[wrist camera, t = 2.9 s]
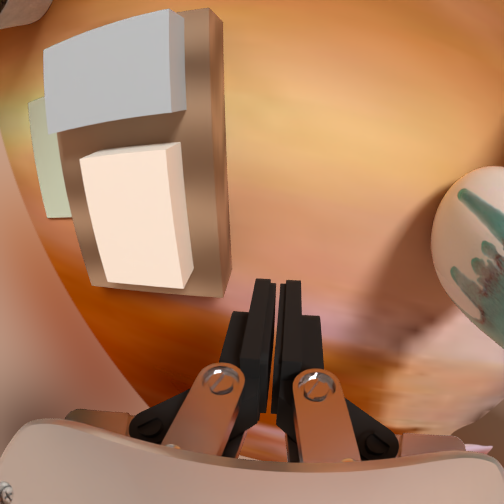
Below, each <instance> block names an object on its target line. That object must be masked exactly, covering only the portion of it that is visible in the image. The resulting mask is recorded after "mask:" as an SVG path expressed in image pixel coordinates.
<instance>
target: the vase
mask: <svg viewBox="0 0 504 504" xmlns="http://www.w3.org/2000/svg"><path fill="white" fill-rule="evenodd" d="M431 251H432V259H433V264H434V267H435V270H436V273H437V276H438V278H439V281H440V283H441V285H442V286H443V288H444V290H445V291H446V293H447V294H448V296H449V297H450V298H451V299H452V301H453V302H454V303H455V304H456V306H457V307H458V308H459V309H460V310H461V311H462V312H463V313H464V314H465V315H466V316H467V317H468V319H469V320H470V321H472V322H473V323H474V324H475V325H476V326H477V327H478V328H479V329H480V330H481V331H482V332H484V333H485V334H486V335H487V336H489V337H490V338H491V339H492V340H494V341H495V342H496V343H497V344H498V345H500V346H501V347H502V348H503V349H504V167H502V166H486V167H481V168H478V169H475V170H473V171H471V172H469V173H467V174H465V175H464V176H462V177H461V178H460V179H458V180H457V181H456V182H455V183H454V184H453V185H452V186H451V187H450V188H449V190H448V191H447V192H446V194H445V195H444V197H443V199H442V200H441V202H440V204H439V206H438V209H437V211H436V214H435V217H434V221H433V226H432V233H431Z"/></svg>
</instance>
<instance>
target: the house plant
mask: <svg viewBox="0 0 504 504" xmlns="http://www.w3.org/2000/svg"><path fill="white" fill-rule="evenodd" d="M51 3H52V0H0V29H4V28H9V27H14V26H20V25H26V24H31V23H33V22H35V21H37V20H39V19H40V18H41V17H42V16H43V15H44V14H45V12H46V11H47V10H48V8H49V6H50V5H51Z"/></svg>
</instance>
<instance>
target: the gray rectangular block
mask: <svg viewBox="0 0 504 504" xmlns="http://www.w3.org/2000/svg"><path fill="white" fill-rule="evenodd" d="M43 68H44V94H45V108H46V118H47V128H48V135H49V134H53V133H57V132H61V131H65V130H69V129H74V128H78V127H83V126H87V125H92V124H97V123H103V122H108V121H114V120H120V119H126V118H132V117H139V116H147V115H155V114H163V113H172V112H177V111H182V110H187V108H186V85H185V49H184V18H183V17H182V16H180V15H178V14H177V13H175V12H174V11H172V10H170V9H165V10H160V11H156V12H151V13H147V14H143V15H139V16H135V17H131V18H128V19H124V20H121V21H117V22H114V23H111V24H108V25H105V26H102V27H99V28H96V29H93V30H90V31H87V32H85V33H82V34H79V35H77V36H74V37H72V38H69V39H67V40H65V41H62V42H60V43H58V44H55V45H53V46H51V47H49V48H47V49H44V50H43Z"/></svg>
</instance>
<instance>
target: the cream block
mask: <svg viewBox="0 0 504 504" xmlns="http://www.w3.org/2000/svg"><path fill="white" fill-rule="evenodd" d="M80 166H81V172H82V178H83V183H84V189H85V194H86V199H87V204H88V208H89V213H90V218H91V222H92V226H93V230H94V234H95V238H96V242H97V246H98V250H99V254H100V257H101V261H102V264H103V268H104V271H105V275H106V278H107V281H108V282H114V283H124V284H134V285H145V286H156V287H168V288H180V289H184V287H185V285H186V283H187V281H188V279H189V277H190V275H191V273H192V271H193V269H194V266H193V259H192V251H191V243H190V234H189V226H188V217H187V208H186V198H185V188H184V177H183V165H182V153H181V142H174V143H161V144H149V145H139V146H130V147H121V148H113V149H105V150H100V151H97V152H95V153H92V154H90V155H88V156H85V157H83V158H81V159H80Z"/></svg>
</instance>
